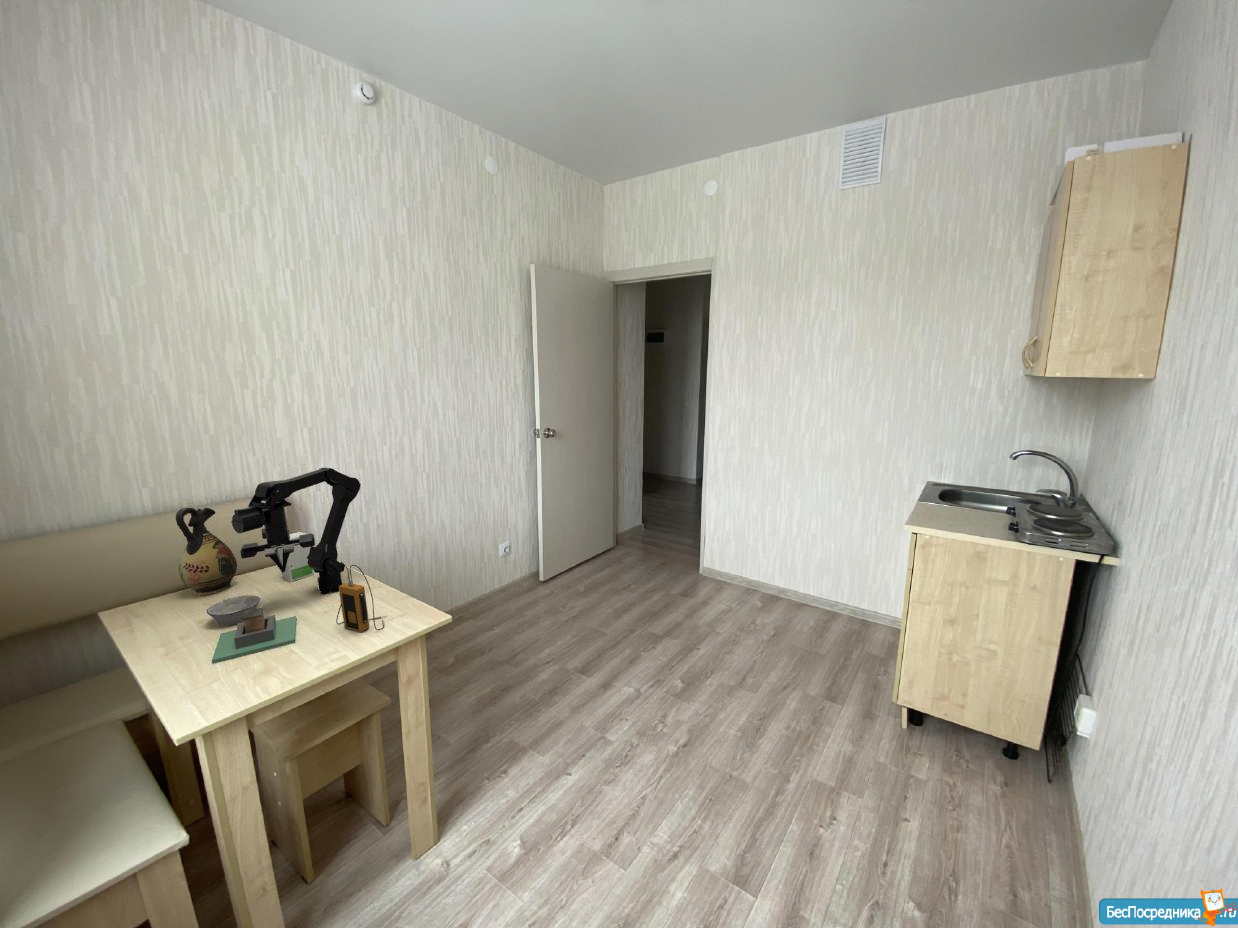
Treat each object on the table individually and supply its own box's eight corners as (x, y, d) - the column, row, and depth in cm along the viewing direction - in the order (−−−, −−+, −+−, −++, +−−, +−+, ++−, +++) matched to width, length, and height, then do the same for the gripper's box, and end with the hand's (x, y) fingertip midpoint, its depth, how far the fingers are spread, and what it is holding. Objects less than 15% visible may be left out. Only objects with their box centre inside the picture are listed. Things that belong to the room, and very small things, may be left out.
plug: (266, 629, 145) (262, 606, 144) (265, 638, 140) (261, 614, 139) (249, 634, 143) (245, 610, 141) (247, 642, 138) (243, 618, 137)
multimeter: (399, 619, 151) (391, 555, 147) (371, 635, 142) (361, 567, 138) (364, 610, 157) (356, 548, 153) (335, 626, 148) (325, 560, 144)
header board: (296, 618, 153) (294, 606, 152) (295, 642, 139) (293, 629, 139) (221, 636, 144) (218, 623, 143) (212, 663, 130) (209, 649, 130)
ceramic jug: (213, 579, 185) (197, 499, 179) (251, 580, 183) (236, 499, 177) (166, 601, 168) (147, 513, 163) (207, 602, 166) (189, 513, 160)
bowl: (198, 627, 150) (194, 611, 149) (239, 607, 162) (236, 592, 161) (232, 631, 147) (229, 615, 146) (272, 610, 159) (269, 596, 158)
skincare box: (290, 582, 180) (283, 540, 177) (281, 579, 183) (274, 537, 180) (315, 574, 187) (308, 533, 184) (305, 570, 190) (299, 530, 187)
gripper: (311, 512, 167) (317, 557, 170) (240, 522, 157) (249, 570, 160) (311, 520, 157) (318, 568, 160) (236, 531, 148) (245, 582, 151)
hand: (283, 571), depth 158 cm, fingers closed
